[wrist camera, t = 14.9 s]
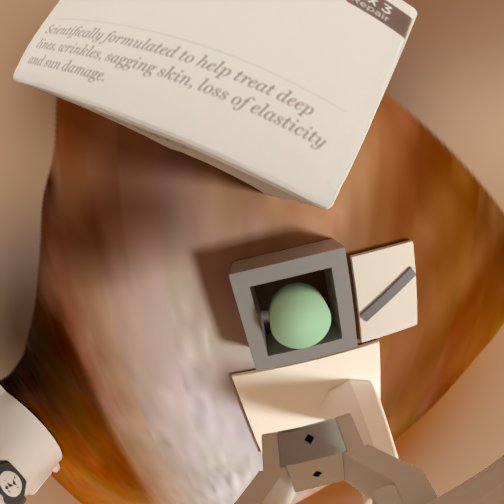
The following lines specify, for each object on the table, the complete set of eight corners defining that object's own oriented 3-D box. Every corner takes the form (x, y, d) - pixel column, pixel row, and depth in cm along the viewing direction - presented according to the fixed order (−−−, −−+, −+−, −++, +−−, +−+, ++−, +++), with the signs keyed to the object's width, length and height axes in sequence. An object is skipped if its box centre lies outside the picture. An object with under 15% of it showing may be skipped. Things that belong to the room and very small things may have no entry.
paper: (262, 452, 24) (262, 455, 24) (232, 374, 22) (232, 376, 22) (378, 425, 24) (379, 427, 23) (377, 339, 21) (379, 341, 21)
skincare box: (163, 146, 18) (-7, 91, 4) (203, 71, 17) (120, -82, 3) (274, 198, 19) (326, 236, 5) (314, 120, 18) (430, -1, 3)
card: (359, 339, 21) (362, 343, 21) (349, 255, 20) (352, 258, 19) (414, 321, 21) (418, 325, 20) (409, 239, 20) (414, 241, 19)
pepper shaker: (376, 413, 23) (414, 501, 12) (320, 426, 23) (341, 524, 12) (379, 371, 22) (432, 465, 11) (317, 385, 22) (345, 494, 11)
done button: (275, 338, 19) (277, 354, 17) (263, 289, 18) (263, 302, 16) (327, 326, 19) (334, 340, 17) (319, 276, 18) (326, 287, 16)
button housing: (257, 348, 22) (256, 370, 19) (232, 261, 20) (228, 274, 17) (346, 327, 21) (357, 346, 18) (332, 238, 20) (344, 247, 17)
